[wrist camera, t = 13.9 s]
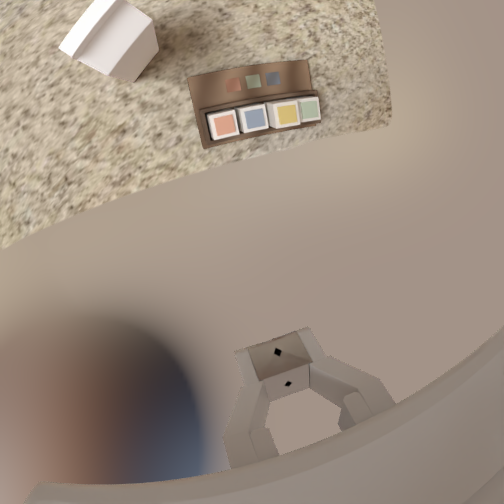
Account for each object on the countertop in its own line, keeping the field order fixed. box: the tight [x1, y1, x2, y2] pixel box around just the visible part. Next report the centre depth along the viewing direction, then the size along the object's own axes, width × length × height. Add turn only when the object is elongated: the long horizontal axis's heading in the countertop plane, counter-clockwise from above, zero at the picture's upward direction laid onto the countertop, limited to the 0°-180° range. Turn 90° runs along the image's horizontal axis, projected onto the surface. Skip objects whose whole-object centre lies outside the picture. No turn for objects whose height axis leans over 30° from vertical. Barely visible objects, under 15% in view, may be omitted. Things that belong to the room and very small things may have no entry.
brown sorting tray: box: [187, 60, 321, 149], centre depth 38 cm, size 18×11×4 cm, turn 100°
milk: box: [59, 0, 159, 82], centre depth 22 cm, size 6×6×22 cm
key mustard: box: [264, 99, 300, 129], centre depth 36 cm, size 3×3×4 cm
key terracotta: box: [206, 108, 239, 140], centre depth 37 cm, size 3×3×4 cm
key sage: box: [286, 96, 321, 123], centre depth 38 cm, size 3×3×4 cm
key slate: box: [234, 103, 269, 133], centre depth 37 cm, size 3×3×4 cm
